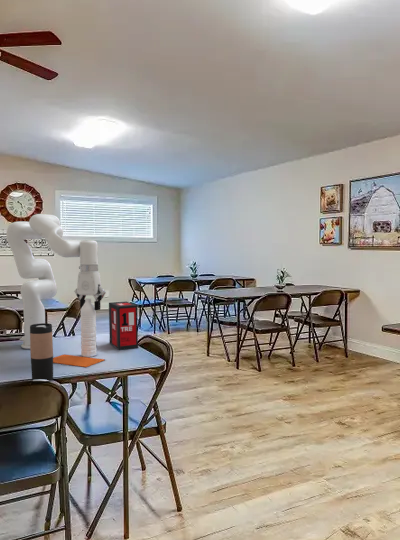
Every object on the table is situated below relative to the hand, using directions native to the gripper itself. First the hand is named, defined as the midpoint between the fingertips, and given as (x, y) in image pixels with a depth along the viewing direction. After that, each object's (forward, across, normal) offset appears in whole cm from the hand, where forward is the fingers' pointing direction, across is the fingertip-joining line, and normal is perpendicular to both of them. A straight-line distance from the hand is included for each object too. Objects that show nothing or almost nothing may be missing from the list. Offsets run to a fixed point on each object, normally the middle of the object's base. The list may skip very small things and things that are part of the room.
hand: (90, 309), depth 203 cm
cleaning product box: (+20, +2, +21) cm, 30 cm away
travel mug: (+20, +8, -37) cm, 43 cm away
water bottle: (+20, 0, 0) cm, 20 cm away
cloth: (+20, 0, -11) cm, 23 cm away
